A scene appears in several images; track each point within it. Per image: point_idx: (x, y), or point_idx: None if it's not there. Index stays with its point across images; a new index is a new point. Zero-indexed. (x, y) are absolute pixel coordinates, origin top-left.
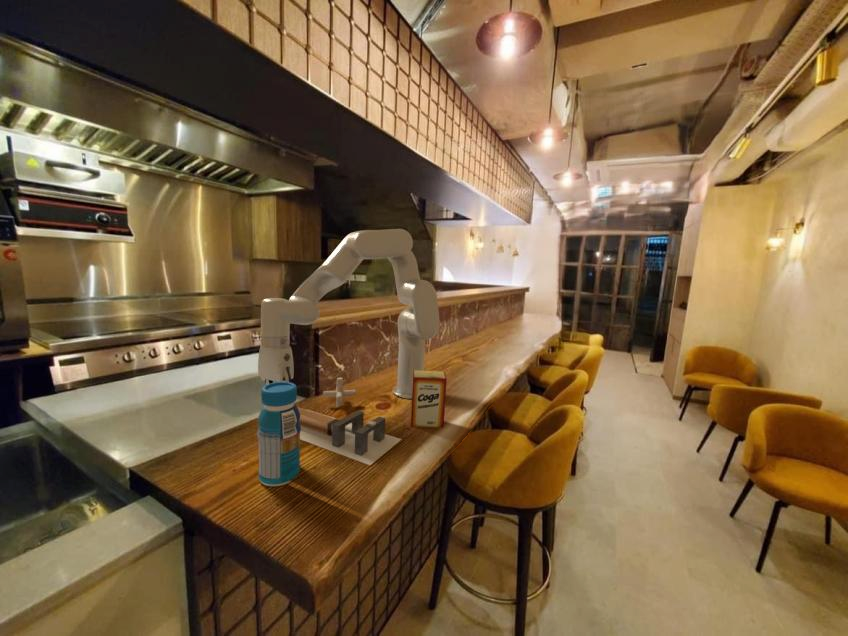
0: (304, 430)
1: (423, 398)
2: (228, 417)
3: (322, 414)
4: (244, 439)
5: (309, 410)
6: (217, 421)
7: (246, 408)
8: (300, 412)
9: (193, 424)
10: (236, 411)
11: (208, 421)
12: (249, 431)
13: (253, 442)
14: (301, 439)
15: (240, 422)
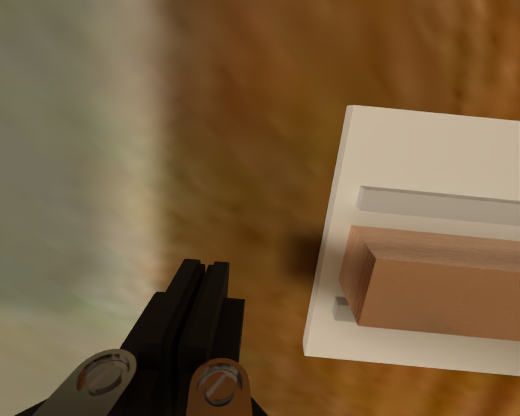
0: None
1: None
2: (55, 325)
3: (506, 121)
4: (278, 407)
5: (384, 111)
6: (62, 362)
7: (9, 227)
8: (475, 318)
9: (24, 403)
10: (13, 272)
11: (36, 373)
12: (244, 368)
13: (323, 409)
14: (514, 374)
15: None
